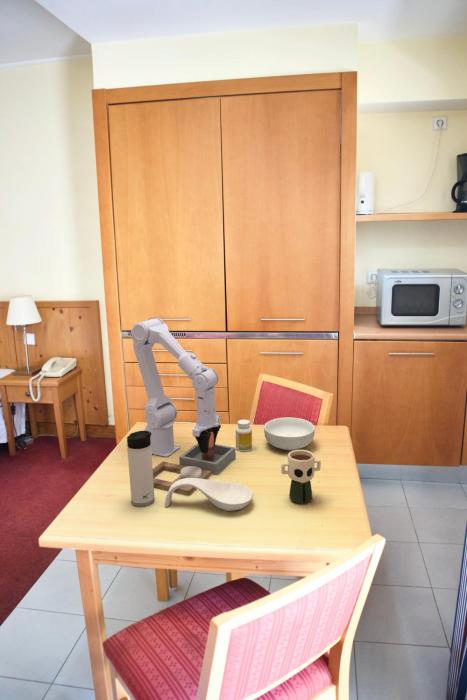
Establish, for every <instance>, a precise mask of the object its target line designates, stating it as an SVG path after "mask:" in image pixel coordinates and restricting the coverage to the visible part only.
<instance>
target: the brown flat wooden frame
mask: <svg viewBox="0 0 467 700" xmlns="http://www.w3.org/2000/svg"><path fill="white" fill-rule="evenodd" d="M164 471H167V472H170V473H175V474H180V475H179V476H178V477H177V478H175V479H174V480H173V481H169V480H164V479H159V478H156V477H157V476H159V475H160V474H161V473H163V472H164ZM211 476H212V474H211V471H208V470H203V469H200V468H199V467H196V466H183V465H180V464H178V463H172V462H168V461H164V460H163V461H161V462H160V463H158V464H157V465H155V467H153V483H154V489H157V490H158V489H159V490H162V491H167V492H168V491H169V488H170V487H171V485H172V484H173V483H174V482H176V481H178V480H181V479H184V478H200V479H207V480H209V478H210V477H211ZM196 490H197V489H196V488H194V487H192V486H183V487H179V488H177V489H176V490H175V491H174V492H173V493H175V494H180V495H183V496H184V495H185V496H190V495H191V494H193V492H195V491H196Z"/></svg>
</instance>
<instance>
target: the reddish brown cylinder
mask: <svg viewBox="0 0 467 700" xmlns="http://www.w3.org/2000/svg"><path fill="white" fill-rule="evenodd" d="M206 431H207V433H211V436H210V439H209V447H208V453H202V460H205V461H211V460H213V459H214V431H213V430H211V429H206Z"/></svg>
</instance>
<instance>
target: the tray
mask: <svg viewBox="0 0 467 700" xmlns="http://www.w3.org/2000/svg"><path fill="white" fill-rule="evenodd" d="M236 450H237V449H236V447H233V446H227V445H223V444H217V443H215V447H214V459H213V460H211V461H205V460H202V453H201V451H200V448H199V444H198V442H197V443H196V444H194V445H193V446H192V447H190V448H189V449H188V450H187V451H185V452H183V454H181V455H180V456H179V465H183V466H196V467H199V468H200V469H203V470H208V471H211V475H215V476H218V475H219V474H220V473H221V472H222V471H223V470H224V469H226V468H227V467H228V466H229V465H230V464H231V463H232V462H233V461H234V460H235V459H236V458H237V456H236V455H237V454H236V453H237V451H236Z"/></svg>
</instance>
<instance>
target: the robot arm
mask: <svg viewBox="0 0 467 700" xmlns="http://www.w3.org/2000/svg"><path fill="white" fill-rule="evenodd" d="M130 334H131V337H132V343H133V346H132V347H133V351H134V354H135V358H136V362H137V364H138V369H139V372H140V375H141V378H142V382H143V386H144V389H145V392H146V395H147V398H148V400H147V402H146V404H145V406H144V411H145V419H144V420H145V423H146V425H145V427H144V428H143V429H144V430H143V431H149V432H151V434H152V435H151V437H150V439H151V440H150V441H151V451H152V455H155V456H159V457H160V456H161V457H165V458H166V457H170V456H171V455H172V454H173V453H175V452H176V451H177V450H179V449H180V446H179V445H175V438H174V437H175V436H174V423H175V420H176V419H177V416H178V411H177V410H178V409H177V407H176V406H175V405H174V403H173V400H172V398H171V397H169V396H167V395H166V394H165V391H164V387H163V384H162V380H161V377H160V374H159V369H158V367H157V363H156V360H155V356H154V353H153V347H154V346H155V345H156V344H159V345H161V346H162V347H163V348H165V349H166V350H167V351H168V353H170V354H171V355H172V356H173V357H174V358H175V359H177V365H178V367H179V368H180V369H181V370H182V371H183V372H184V373H185V374H186V376H187V377H189V379H190V380H191V385H192V388H193V389H194V391H195V393H194V394H195V396H196V414H197V415H196V417H197V421H196V423H195V425H194V428H193V429H192V430H191V431H192V432H191V433H192V437H194V438H195V440H196V441H197V443H198V444H199V448H200V451H201V453H208V447H209V439H210V436H211V433H207V431H206V429H211V430H213V431H214V447H215V444H217V443H216V442H217V438H218V437H217V436H218V433H219V432H220V430H221V424H220V422H221V414H217V413H216V387H215V386H216V385H218V383H219V376H218V373H217V372H216V371H215V369H213V368H210V367H207V366H205V365H204V364H203V363H202V362H201V361H200V359H198V358H197V355H196V354H195V353H193V352H191V351H190V352H189V351H188V352H187V351H186V350H185V349H184V348H183V347H182V346H181V345H180V343H179V342H178V341H177V339H176V338H175V336H173V335H172V333H171V332H170V331H169V326H168V325H167V324H166V323H165V322H164V320H163V319H161V318H160V317H154V318H152V319H148V320H143V321H139V322H136V323H135V324H134V325H133V326H132V329H131V330H130Z"/></svg>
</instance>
